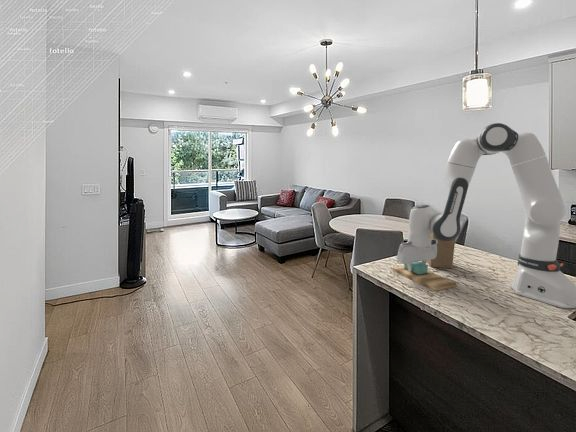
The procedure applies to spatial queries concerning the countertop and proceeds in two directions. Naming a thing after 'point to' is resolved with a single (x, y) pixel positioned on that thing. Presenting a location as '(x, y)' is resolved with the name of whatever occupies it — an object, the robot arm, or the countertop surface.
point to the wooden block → (443, 253)
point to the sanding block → (418, 268)
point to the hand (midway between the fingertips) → (416, 270)
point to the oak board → (426, 279)
